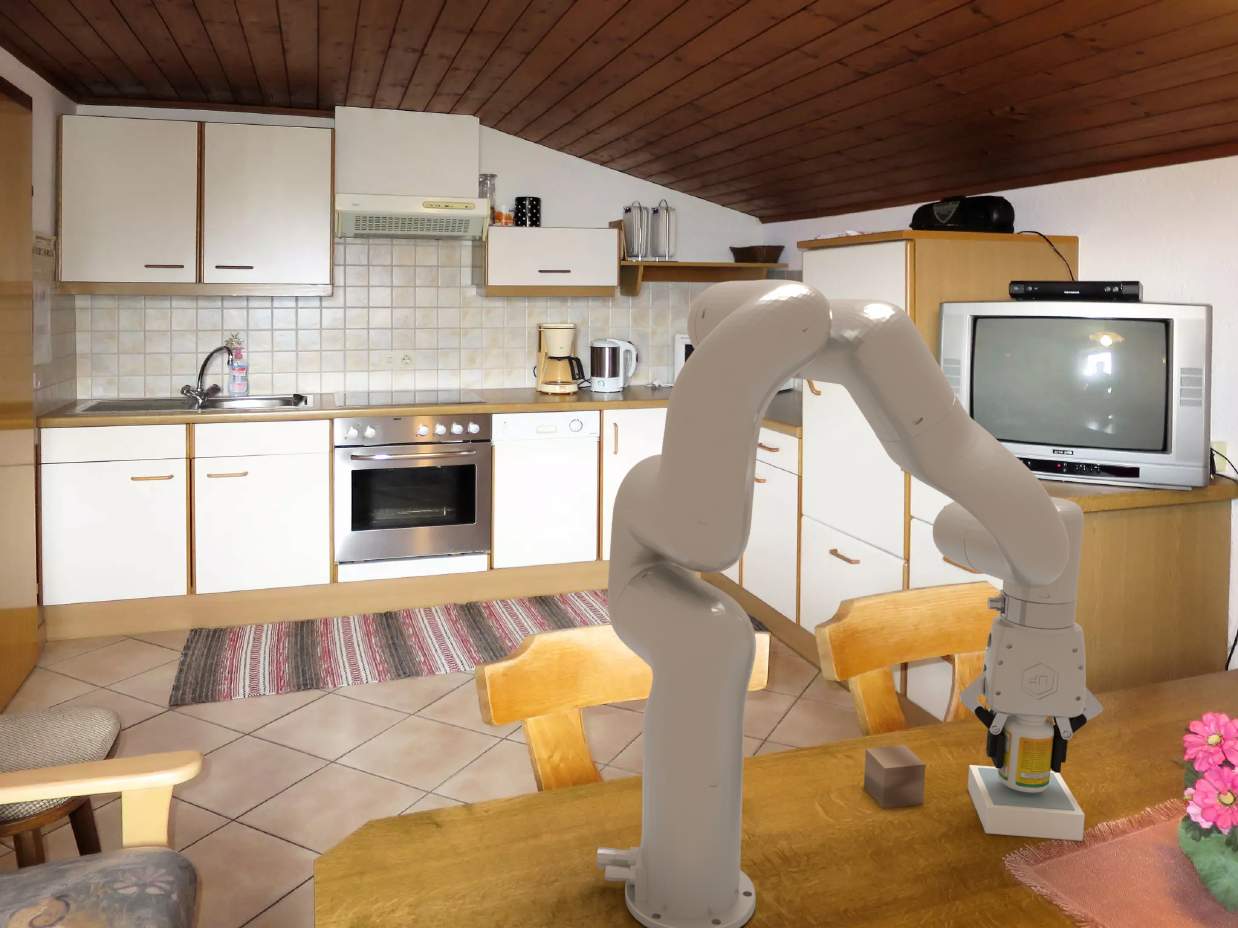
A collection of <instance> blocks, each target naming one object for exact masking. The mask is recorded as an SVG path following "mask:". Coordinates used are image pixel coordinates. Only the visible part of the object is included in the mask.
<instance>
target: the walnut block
mask: <svg viewBox="0 0 1238 928" xmlns="http://www.w3.org/2000/svg"><path fill="white" fill-rule="evenodd" d="M864 758H865V760H864V777H863V778H864V779H863V782H864V783H863V787H864V789H865V790H866V792H868V793H869V795H870V796H871V797H872V798H873V799H874V800H875V802H877V804H878V805H879V806H880V807H881V808H882V809H888V808H889V809H890V808H899V807H908V806H917V805H919V806H920V805H924V795H925V779H926V777H925V775H926V764H925V762H923V760H922V759H920V758H919V757H918V756H917V755H916V754H915V753H914V751H912V749H910V748H909V747H908V746H906V745H905V744H900V745H893V746H890V745H889V746H880V747H878V746H877V747H870V748H869V747H868V748H865V757H864Z"/></svg>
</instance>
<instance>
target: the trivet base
mask: <svg viewBox="0 0 1238 928" xmlns="http://www.w3.org/2000/svg"><path fill="white" fill-rule="evenodd" d="M967 779H968V782H967V790H968V792H969V795H970V797H971V801H972V802H973V806H974V808H975V810H976V812H977V815H978V818H979V820H980V823H981V825H982V827H983V830H984V833H985V834H992V835H1003V836H1004V835H1006V836H1013V837H1014V836H1016V837H1027V838H1030V837H1031V838H1039V839H1040V838H1042V839H1054V840H1067V841H1079V842H1083V841H1084V839H1083V838H1084V828H1085V820H1086V817H1085V813H1084V811H1083V810H1082V808H1081V806H1080V804H1079V803H1078V802H1077V800H1076V798H1075V796H1074V795H1073V794H1072V791H1071V790H1070V788H1069V787H1068V785H1067V783H1066V782H1065V780H1064V778H1063V776H1062V775H1061V772H1060V773H1055V772H1054V771H1052V770H1050V780H1049V786H1048V787H1047V789H1045V790H1044V791H1041V792H1037V793H1031V792H1022V791H1018V790H1014V789H1012V788H1009V787H1007V786H1006V785H1004V784H1003V783H1002V782H1001V781H1000V779H999V777H998V768H996V767H995V766H986V765H974V764H973V765H972V764H969V766H968V778H967Z"/></svg>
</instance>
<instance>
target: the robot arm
mask: <svg viewBox="0 0 1238 928" xmlns="http://www.w3.org/2000/svg"><path fill="white" fill-rule="evenodd" d="M686 323H687V325H686V326H687V327H686V328H687V329H686V330H687V335H688V338H689V342H690V344H691V345H692V347H693V349H694V350H693V351H692V352H691V354H690V355H689V357H688V358H687V360H686V361H685V362H684V364H683V366H682V368H681V369H680V371H679V372H678V374H677V376H676V379H675V380H674V384H673V386H672V388H671V392H670V394H669V395H670V396H669V399H668V403H667V408H666V414H665V415H666V416H665V424H664V430H663V431H664V432H663V437H662V446H661V454H655V455H651V456H647V457H645V458H643V459H642V460H640V461H639V462H637V463H636V464H635V465H633V466H632V468H630V469H629V470H628V471H627V473H626V475H625V476H624V477H623V479H622V481H621V483H620V485H619V487H618V489H617V492H616V495H615V498H614V499H615V500H614V503H613V509H612V519H611V530H610V546H609V547H610V548H609V562H608V563H609V564H608V578H607V579H608V580H607V581H608V582H607V609H608V618H609V621H610V624H611V627H612V629H613V632H614V633H615V635H616V636H617V637H618V639H619V640H620V641H621V642H622V643H623V644H624V645H625V646H626V647H627V648H628V649H629V650H630V651H632V652H633V653H634V654H635V655H637V656H638V657H639V658H640V659H641V660H643V662H644V663H645V664H646V665H647V666H649V667H650V669H651V673H652V679H651V680H652V681H651V687H650V691H649V694H648V698H647V699H646V703H645V707H644V711H643V718H642V726H641V751H642V755H641V756H642V762H641V764H642V765H641V766H642V767H641V768H642V772H641V777H642V778H641V784H642V785H641V787H642V788H641V839H640V843H639V847H637V846H630V848H629V849H617V848H615V847H603V846H598V848H597V852H596V854H597V855H596V868H599V869H605V871H604V880H605V881H610V882H625V888H624V899H625V905H626V907H627V909H628V911H629V913H630V914H631V915H632V917H634V919H635V920H636V921H638V922H639V923H640V924H642V925H643V926H645V928H741V927H742V926H743V925H745V924H746V923H747V922H748V921H749V920H750V919H751V918H752V915H753V914H754V911H755V910H756V901H757V897H756V894H757V893H756V888H755V886H754V883H753V881H752V880H751V879H750V877H749V876H748V875H747V874H746V873H745V872H744V871H743V869H741V854H742V853H741V851H742V848H741V847H742V819H743V815H742V814H743V786H744V784H743V781H744V780H743V778H744V777H743V776H744V774H743V773H744V738H745V737H744V736H745V735H744V734H745V732H744V731H745V717H746V706H747V697H748V692H749V691H748V690H749V686H750V681H751V679H752V674H753V670H754V665H755V660H756V653H757V640H756V639H757V638H756V633H755V629H754V626H753V623H752V621H751V619H750V616H749V615H748V613H747V612H746V610H744V609H743V607H742V606H741V605H740V603H739V602H738V601H736V600H735V599H734V598H733V597H732V596H730V595H729V594H728V593H727V592H725V591H724V590H722V589H720V588H718V587H717V586H715V585H713V584H711V583H710V582H708V581H706V580H705V579H702V578H700V577H697V576H696V573H697V572H698V573H703V574H706V573H707V574H716V573H717V574H718V573H721V572H723V571H726V570H728V569H730V568H732V567H733V566H734V565H736V564H737V563H738V561H740V559H741V558H742V556H743V555H744V553H745V552H746V549H747V546H748V543H749V539H750V534H751V529H752V518H753V517H752V515H753V506H754V505H753V504H754V494H755V493H754V491H755V479H756V466H757V455H758V446H759V438H760V432H761V427H762V423H763V420H764V417H765V414H766V412H767V410H768V408H769V406H770V404H771V403H772V401H773V399H774V398H775V396H776V395H777V394H778V392H779V391H780V390H781V389H782V388H783V387H784V385H786V384H787V383H788V382H789V381H790V380H791V379H797V380H807V381H815V382H821V383H822V382H823V383H826V384H827V383H828V384H833V385H834V384H835V385H836V384H837V385H840V386H843V388H844V389H846V391H847V393H849V395H850V397H851V398H852V400H853V401H854V403H855V405H856V406H857V408H858V409H859V410H860V412H861V414H862V415H863V417H864V418H865V420H866V421H867V424H868V425H869V426H870V428H871V430H872V431H873V432H874V434H875V436H876V438H877V439H878V441H879V442H880V445H882V447H883V449H884V451H885V453H886V454H887V455H888V457H889V458H890V459H891V460H892V461H893V462H894V463H895V464H896V465H897V466H898V467H900V468H901V469H902V470H903V471H905V472H907V473H908V474H909V475H911V477H913V478H915V479H917V480H918V481H919V482H922V483H923V484H925V485H926V486H929V487H930V488H932V489H934V490H936V491H938V492H939V493H941V494H943V495H944V496H946V497H948V498H949V499H951V500H952V502H950V503H948V504H947V505H945V506H944V507H943V508H942V509H941V510H940V511H939V512H938V514H937V515H936V517H935V519H934V521H933V525H932V538H933V539H932V540H933V542H934V545H935V547H936V548H937V550H938V551H939V552H940V553H941V554H942V555H943V557H944V558H946V559H947V560H949V561H951V562H952V563H955V564H957V565H959V566H961V567H964V568H966V569H969V570H971V571H975V572H977V573H979V574H985V575H988V576H990V577H993V578H996V579H998V580H1002V589H1000V592H999V594H998V596H994V597H988V598H987V601H986V602H987V609H988V610H994V611H995V612H998V613H999V614H996V615H995V616H994V618H993V621H992V623H991V626H990V630H989V634H988V639H987V643H986V647H985V652H984V657H983V658H984V659H983V664H982V670H981V674H979V676H977V677H976V678H975V679H974V680H973V681H972V682H971V683H970V684H969V685H968V686H966V687H965V688H964V689H963V690H962V691H961V692H960V693H959V694H958V697H959V700H960V702H961V703H962V704H963V706H965V707H966V708H967V709H968V710H969V711H971V712H972V714H974V715H975V716H976V717H977V719H979V721H980V722H981V723H982V724H983V725H984V726H985V727H986V728H987V736H986V737H987V739H986V747H985V749H986V750H985V751H986V756H987V758H990V759H991V760H992V762H993V765H994V767H996V768H999V769H1001V767H1002V768H1003V763H1004V750H1005V735H1004V733H1003V726H1004V724H1005V721H1006V719H1007V717H1008V715H1009V714H1012V715H1025V716H1040V717H1048V718H1052V722H1053V724H1052V725H1053V728H1054V738H1053V749H1052V759H1051V771H1054V772H1055V773H1060V774H1061V772H1062V770H1061V769H1062V763H1064V764H1065V763H1066V761H1067V754H1068V753H1067V752H1068V740H1071V739H1072V738H1073V734H1074V733H1075V732H1077V731H1078V730H1079V729H1081V728H1082V727H1083V726H1084V725H1086V724H1087V722H1088V721H1089V720H1092V719H1094V718H1095V717H1097V716H1098V715H1100V714H1101V713H1102V712H1103V710H1104V707H1103V706H1102V704H1101V703H1100V701H1098V700H1097V698H1096V697H1095V695H1093V693H1092V692H1091V691H1090V690H1089V688H1088V687H1087V675H1086V674H1087V673H1086V672H1087V671H1086V670H1087V669H1086V667H1087V666H1086V664H1087V663H1086V646H1085V645H1086V644H1085V635H1084V630H1083V629H1084V628H1083V627H1082V626H1081V625H1080V624H1079V623H1077V622H1076V612H1077V602H1078V588H1079V579H1080V569H1081V557H1082V547H1083V546H1082V544H1083V536H1084V525H1085V522H1084V521H1085V519H1084V518H1085V515H1084V511H1083V508H1082V507H1081V506H1080V505H1079V504H1078V503H1077V502H1075V501H1072V500H1069V499H1066V498H1062V497H1055V496H1050V495H1049V493H1048V491H1047V490H1046V488H1045V486H1044V485H1043V484H1042V482H1041V481H1040V480H1039V478H1038V477H1037V476H1036V474H1034V473H1033V471H1031V469H1030V468H1029V467H1028V466H1027V465H1026V464H1025V463H1024V462H1023V461H1022V460H1021V459H1020V458H1018V457H1017V456H1016V455H1015V454H1014V453H1013V452H1011V451H1010V450H1009V449H1008V448H1007V447H1006V446H1004V445H1003V444H1002V443H1001V442H1000V441H999V440H997V438H995V437H994V436H993V435H992V434H991V433H990V432H989V431H988V430H986V429H985V428H984V427H983V426H982V425H981V424H979V423H978V422H976V421H975V420H974V418H972V417H971V416H970V415H969V414H968V413H967V411H966V409H965V408H964V406H963V405H962V403H961V401H960V400H959V398H958V396H957V394H956V393H955V391H954V389H953V386H952V385H951V384H950V382H949V381H948V379H947V377H946V375H945V374H944V372H943V371H942V368H941V367H940V364H939V363H938V362H937V360H936V358H935V357H934V355H933V353H932V352H931V350H930V347H929V346H928V344H927V342H926V341H925V339H924V338H923V336H922V334H921V332H920V330H919V329H918V328H917V326H916V324H915V322H914V321H913V320H912V317H911V316H909V314H908V313H907V312H906V311H905V310H904V309H902V307H900V306H898V305H897V304H894V303H892V302H890V301H887V300H886V301H885V300H880V299H857V298H855V299H853V298H852V299H851V298H848V299H847V298H846V299H845V298H843V299H842V298H826V296H825V295H824V293H822V291H820V290H819V289H817V288H816V287H814V286H812V285H810V284H807V283H806V282H802V281H797V280H790V279H756V280H729V281H722V282H719V283H715V284H713V285H710V286H709V287H707V288H705V290H703V291H702V292H701V293H700V294H699V295H698V296H697V298H696V299H695V300H694V302H693V303H692V306H691V307H690V310H689V312H688V316H687V322H686ZM982 695H983V696H984V697H985V701H986V704H987V705H988V708H986V706H984V705H983V703H981V702H980V701H979V699H978V698H979V697H980V696H982Z"/></svg>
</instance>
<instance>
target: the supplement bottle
mask: <svg viewBox="0 0 1238 928" xmlns="http://www.w3.org/2000/svg"><path fill="white" fill-rule="evenodd" d="M1053 725H1054V724H1052V722H1051V721H1050V720H1049V717H1040V716H1025V715H1012V714H1009V715H1008V717H1007V719H1006V721H1005V724H1004V726H1003V733H1004V735H1005V750H1004V763H1003V768H1002V767H1001V769H999V768H998V777H999V779H1000V781H1001V782H1002V783H1003V784H1004V785H1006V786H1007V787H1009V788H1012V789H1014V790H1018V791H1022V792H1031V793H1037V792H1041V791H1044V790H1045V789H1047V787H1048V786H1049V780H1050V771H1052V769H1051V759H1052V749H1053V738H1054V728H1053Z"/></svg>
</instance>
